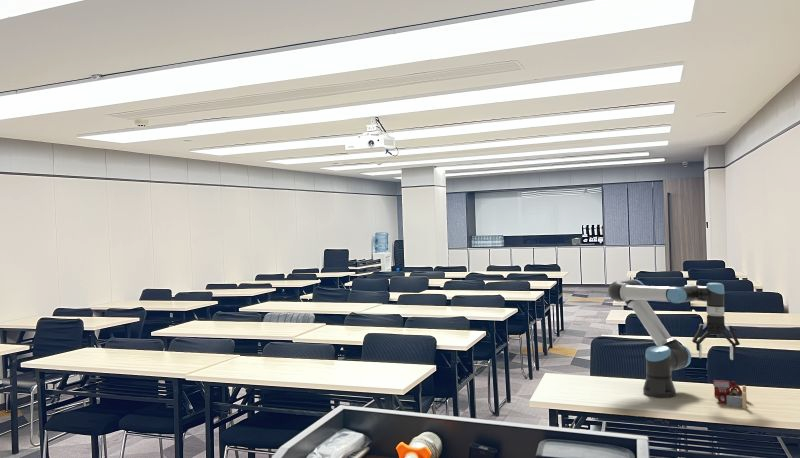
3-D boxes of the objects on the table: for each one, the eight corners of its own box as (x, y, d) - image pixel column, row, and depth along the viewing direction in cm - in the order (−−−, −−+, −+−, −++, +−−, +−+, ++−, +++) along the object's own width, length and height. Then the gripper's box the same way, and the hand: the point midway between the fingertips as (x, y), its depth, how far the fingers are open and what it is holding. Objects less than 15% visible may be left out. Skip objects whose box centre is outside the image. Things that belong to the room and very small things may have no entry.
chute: (726, 406, 263) (726, 391, 263) (728, 398, 276) (727, 384, 276) (746, 408, 259) (745, 393, 259) (746, 400, 272) (746, 385, 272)
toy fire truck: (744, 406, 263) (743, 383, 263) (714, 403, 269) (713, 381, 269) (743, 402, 270) (742, 380, 270) (713, 399, 275) (712, 378, 275)
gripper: (688, 315, 275) (688, 358, 275) (746, 317, 268) (747, 361, 268) (685, 312, 282) (686, 355, 283) (742, 314, 275) (742, 358, 275)
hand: (715, 358), depth 275 cm, fingers open, 13 cm apart
